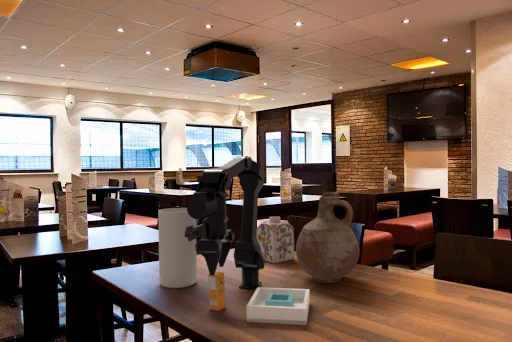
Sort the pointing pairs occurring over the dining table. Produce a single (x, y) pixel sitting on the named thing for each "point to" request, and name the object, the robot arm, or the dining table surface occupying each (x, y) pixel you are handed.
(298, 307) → the walled tray
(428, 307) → the dining table surface
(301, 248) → the jug
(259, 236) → the decorative jar
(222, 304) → the supplement box
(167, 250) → the cylinder vase
